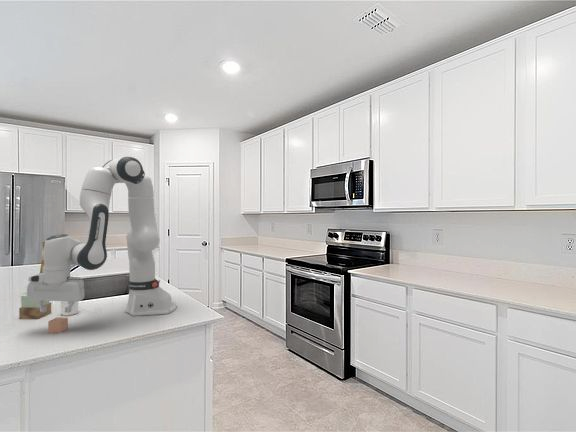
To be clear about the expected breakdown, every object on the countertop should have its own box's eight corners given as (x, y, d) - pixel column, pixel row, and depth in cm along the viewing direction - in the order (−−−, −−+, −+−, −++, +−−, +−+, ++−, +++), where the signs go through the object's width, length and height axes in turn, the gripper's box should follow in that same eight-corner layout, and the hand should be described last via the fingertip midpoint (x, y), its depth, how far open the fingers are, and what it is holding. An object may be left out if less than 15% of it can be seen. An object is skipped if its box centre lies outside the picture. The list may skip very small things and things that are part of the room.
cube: (67, 328, 131) (67, 317, 131) (60, 332, 126) (60, 321, 126) (56, 328, 131) (56, 317, 130) (48, 333, 126) (48, 321, 126)
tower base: (51, 313, 149) (51, 302, 149) (38, 319, 141) (38, 308, 141) (33, 313, 149) (33, 302, 148) (19, 319, 141) (19, 308, 140)
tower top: (49, 302, 148) (49, 291, 148) (37, 307, 141) (37, 296, 141) (33, 302, 148) (33, 291, 148) (21, 307, 141) (21, 295, 141)
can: (65, 317, 144) (65, 289, 143) (58, 314, 147) (58, 287, 147) (81, 313, 149) (80, 286, 149) (73, 310, 153) (73, 285, 152)
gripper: (88, 275, 131) (87, 310, 131) (36, 274, 130) (35, 308, 130) (78, 278, 125) (77, 315, 125) (23, 277, 124) (22, 313, 124)
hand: (55, 311), depth 128 cm, fingers open, 8 cm apart
